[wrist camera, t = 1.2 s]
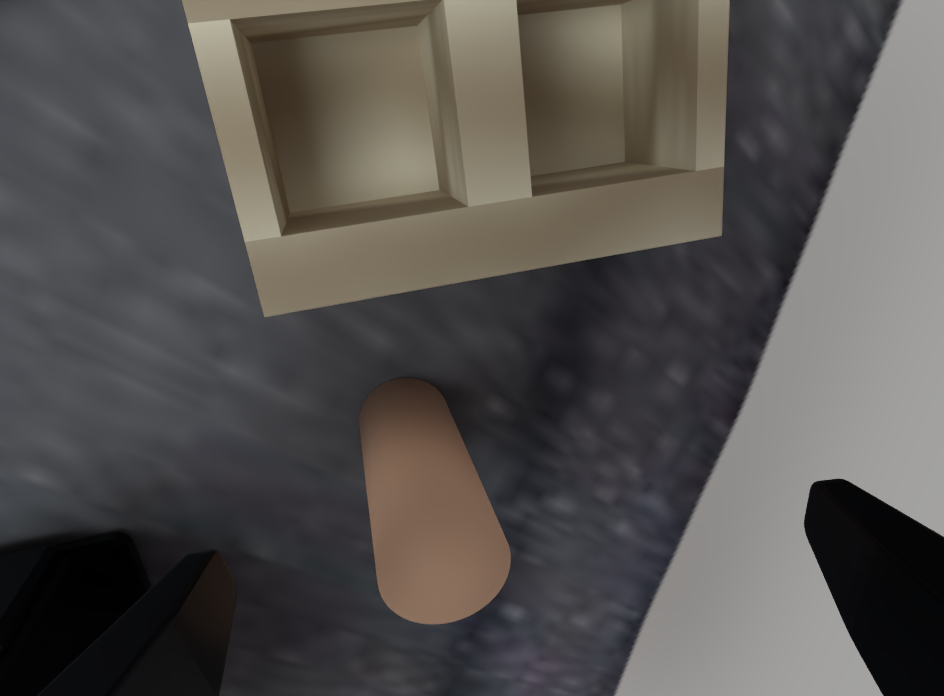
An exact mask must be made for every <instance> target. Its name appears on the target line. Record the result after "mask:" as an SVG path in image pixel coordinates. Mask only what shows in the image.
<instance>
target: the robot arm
mask: <svg viewBox="0 0 944 696" xmlns="http://www.w3.org/2000/svg"><path fill="white" fill-rule="evenodd" d="M804 527H805V532H806V536H807V538H808V541H809V543H810V545H811V548H812V550H813V552H814V554H815V557H816V559H817V562H818V564H819V566H820V568H821V571H822V573H823V575H824V578H825V580H826V582H827V585H828V587H829V589H830V592H831V594H832V596H833V599H834V601H835V603H836V605H837V608H838V610H839V612H840V615H841V617H842V619H843V621H844V623H845V626H846V628H847V630H848V632H849V634H850V636H851V638H852V640H853V642H854V644H855V646H856V648H857V650H858V651H859V653H860V655H861V657H862V658H863V660H864V662H865V664H866V666H867V668H868V669H869V671H870V673H871V675H872V676H873V678H874V680H875V682H876V683H877V685H878V687H879V689H880V691H881V692H882V694H883V695H884V696H944V537H943V536H941V535H940V534H938V533H936V532H935V531H933V530H931V529H929V528H928V527H926V526H924V525H922V524H921V523H919V522H917V521H916V520H914V519H912V518H910V517H909V516H907V515H905V514H904V513H902V512H900V511H898V510H897V509H895V508H893V507H892V506H890V505H888V504H886V503H885V502H883V501H881V500H879V499H878V498H876V497H874V496H873V495H871V494H869V493H867V492H866V491H864V490H862V489H861V488H859V487H857V486H856V485H854V484H852V483H850V482H849V481H846V480H844V479H832V480H823V481H817V482H814V483H813V484H812V486H811V489H810V493H809V498H808V503H807V508H806V514H805V520H804ZM109 546H118V547H119V548H120V549H121V550H118V551H115V550H112V549H111V548H110V547H109ZM236 599H237V588H236V584H235V581H234V579H233V577H232V575H231V573H230V571H229V569H228V567H227V565H226V563H225V561H224V559H223V557H222V555H221V554H220V552H218V551H217V550H213V549H211V550H202V551H194V552H191V553H189V554H187V555H186V556H185V557H184V558H182V559H181V560H180V561H179V562H178V563H177V564H176V565H175V566H174V567H173V568H172V569H171V570H170V571H169V572H168V573H167V574H165V575H164V576H163V577H162V578H161V579H160V580H159V581H158V582H157V583H156V584H155V585H154V586H153V587H151V585H150V582H149V580H148V578H147V575H146V573H145V570H144V568H143V565H142V563H141V560H140V558H139V555H138V553H137V550H136V548H135V545H134V543H133V540H132V539H131V538H130V536H128V535H127V534H125V533H121V532H111V533H107V534H103V535H98V536H94V537H89V538H85V539H80V540H76V541H72V542H67V543H63V544H58V545H49V544H46V545H41V546H37V547H32V548H28V549H23V550H19V551H15V552H10V553H6V554H1V555H0V696H219V692H220V688H221V683H222V677H223V672H224V666H225V661H226V655H227V650H228V644H229V639H230V633H231V628H232V622H233V616H234V611H235V605H236Z"/></svg>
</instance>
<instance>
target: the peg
mask: <svg viewBox="0 0 944 696" xmlns="http://www.w3.org/2000/svg"><path fill="white" fill-rule="evenodd" d="M359 430H360V439H361V447H362V456H363V464H364V472H365V481H366V489H367V498H368V506H369V515H370V523H371V532H372V540H373V549H374V557H375V566H376V574H377V582H378V588H379V592H380V595H381V597H382V599H383V600H384V602H385V603H386V605H387V606H388V607H389V608H390V609H391V610H392V611H393V612H395V613H396V614H397V615H399V616H401V617H403V618H405V619H407V620H410V621H412V622H416V623H421V624H444V623H450V622H454V621H457V620H460V619H463V618H465V617H468V616H470V615H472V614H474V613H475V612H477V611H479V610H480V609H482V608H483V607H484V606H486V605H487V604H488V603H489V602H490V601H491V600H492V599H493V598H494V597H495V596H496V595H497V594H498V592H499V591H500V590H501V588H502V586H503V585H504V583H505V581H506V579H507V576H508V573H509V569H510V563H511V553H510V548H509V545H508V542H507V540H506V538H505V535H504V533H503V531H502V528H501V526H500V524H499V522H498V519H497V517H496V515H495V512H494V510H493V508H492V506H491V503H490V501H489V499H488V497H487V494H486V492H485V490H484V487H483V485H482V483H481V481H480V478H479V476H478V474H477V471H476V469H475V467H474V465H473V462H472V460H471V458H470V456H469V453H468V451H467V449H466V446H465V444H464V442H463V440H462V437H461V435H460V433H459V431H458V428H457V426H456V424H455V421H454V419H453V417H452V415H451V412H450V410H449V408H448V405H447V403H446V401H445V399H444V397H443V395H442V394H441V393H440V392H439V391H438V390H437V389H436V388H435V387H434V386H433V385H431V384H429V383H428V382H426V381H423V380H420V379H416V378H398V379H394V380H390V381H388V382H385V383H383V384H382V385H380V386H378V387H377V388H376V389H374V390H373V391H372V392H371V393H370V394H369V395H368V397H367V398H366V400H365V401H364V403H363V405H362V407H361V410H360V414H359Z"/></svg>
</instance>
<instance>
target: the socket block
mask: <svg viewBox="0 0 944 696" xmlns="http://www.w3.org/2000/svg"><path fill="white" fill-rule="evenodd" d="M182 2H183V6H184V10H185V14H186V17H187V21H188V25H189V29H190V33H191V37H192V40H193V44H194V48H195V52H196V56H197V60H198V64H199V67H200V71H201V75H202V79H203V83H204V87H205V91H206V94H207V98H208V102H209V106H210V110H211V114H212V117H213V121H214V125H215V129H216V133H217V137H218V141H219V144H220V148H221V152H222V156H223V160H224V164H225V167H226V171H227V175H228V179H229V183H230V187H231V191H232V194H233V198H234V202H235V206H236V210H237V214H238V218H239V221H240V225H241V229H242V233H243V237H244V241H245V244H246V248H247V252H248V256H249V260H250V264H251V268H252V271H253V275H254V279H255V283H256V287H257V291H258V295H259V298H260V302H261V306H262V310H263V314H264V317H269V316H274V315H280V314H286V313H291V312H297V311H302V310H308V309H314V308H319V307H325V306H330V305H336V304H342V303H347V302H353V301H358V300H364V299H370V298H375V297H381V296H387V295H392V294H398V293H403V292H409V291H415V290H420V289H426V288H431V287H437V286H443V285H448V284H454V283H460V282H465V281H471V280H476V279H482V278H488V277H493V276H499V275H504V274H510V273H516V272H521V271H527V270H532V269H538V268H544V267H549V266H555V265H561V264H566V263H572V262H577V261H583V260H589V259H594V258H600V257H605V256H611V255H617V254H622V253H628V252H633V251H639V250H645V249H650V248H656V247H662V246H667V245H673V244H678V243H684V242H690V241H695V240H701V239H706V238H712V237H718V236H722V213H723V183H724V153H725V124H726V94H727V64H728V34H729V4H730V0H182Z"/></svg>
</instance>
